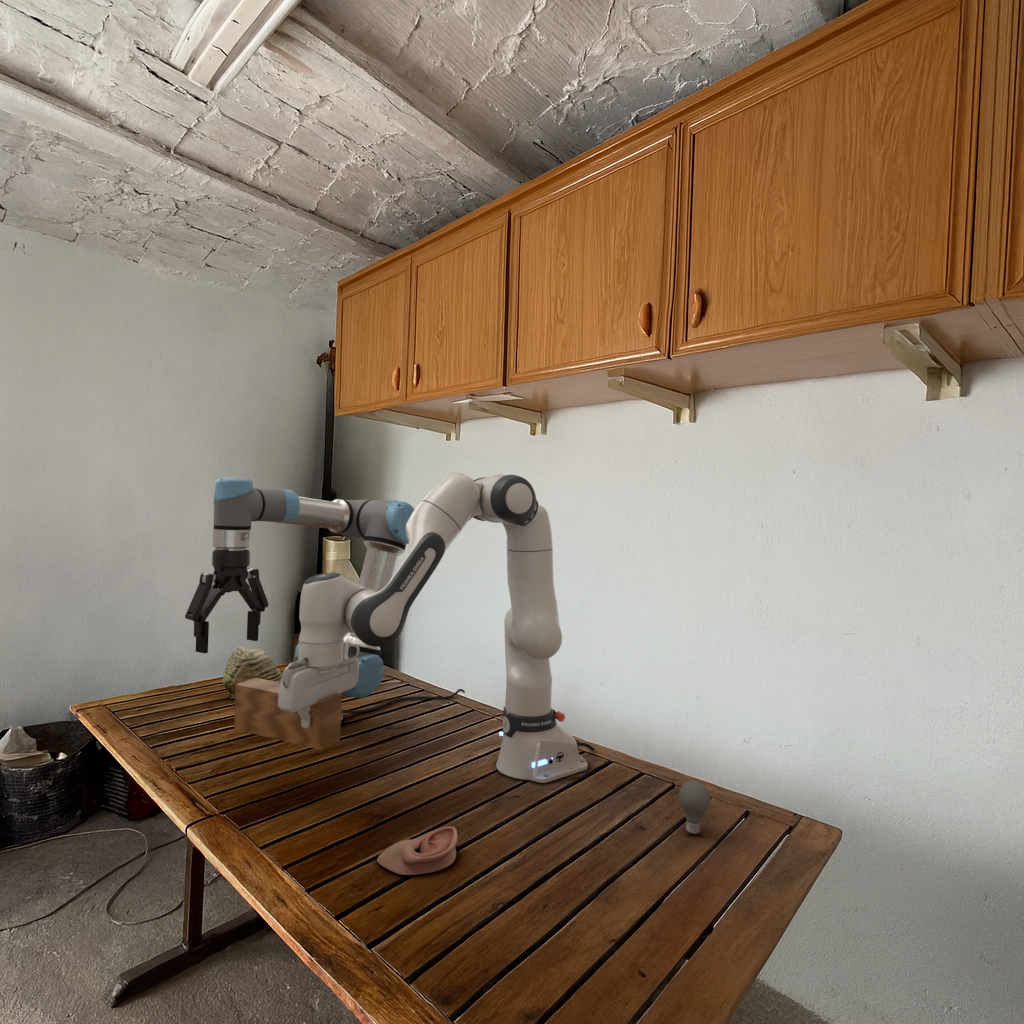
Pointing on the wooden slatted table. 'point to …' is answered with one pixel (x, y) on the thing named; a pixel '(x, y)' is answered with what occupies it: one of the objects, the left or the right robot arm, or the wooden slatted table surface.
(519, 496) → the right robot arm
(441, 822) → the wooden slatted table surface
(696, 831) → the light bulb
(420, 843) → the anatomical model
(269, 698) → the bar
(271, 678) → the fossil
